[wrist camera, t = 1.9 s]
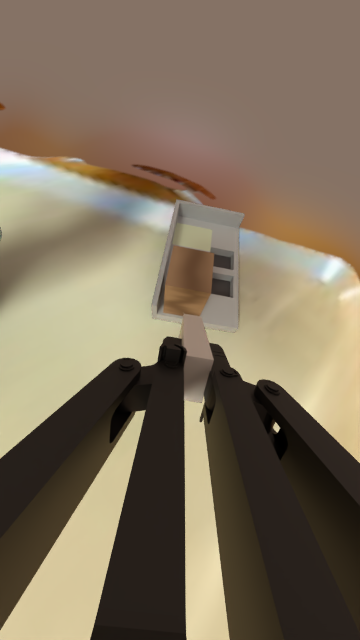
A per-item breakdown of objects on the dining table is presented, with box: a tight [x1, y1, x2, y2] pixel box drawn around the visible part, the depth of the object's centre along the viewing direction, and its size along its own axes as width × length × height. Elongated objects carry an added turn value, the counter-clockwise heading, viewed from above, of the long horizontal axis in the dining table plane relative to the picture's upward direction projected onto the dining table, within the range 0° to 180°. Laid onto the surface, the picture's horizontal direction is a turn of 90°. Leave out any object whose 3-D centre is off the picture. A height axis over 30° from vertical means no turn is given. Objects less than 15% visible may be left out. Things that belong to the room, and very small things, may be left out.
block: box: [163, 245, 214, 316], centre depth 28 cm, size 6×7×8 cm
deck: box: [152, 200, 244, 333], centre depth 35 cm, size 15×26×5 cm, turn 172°
